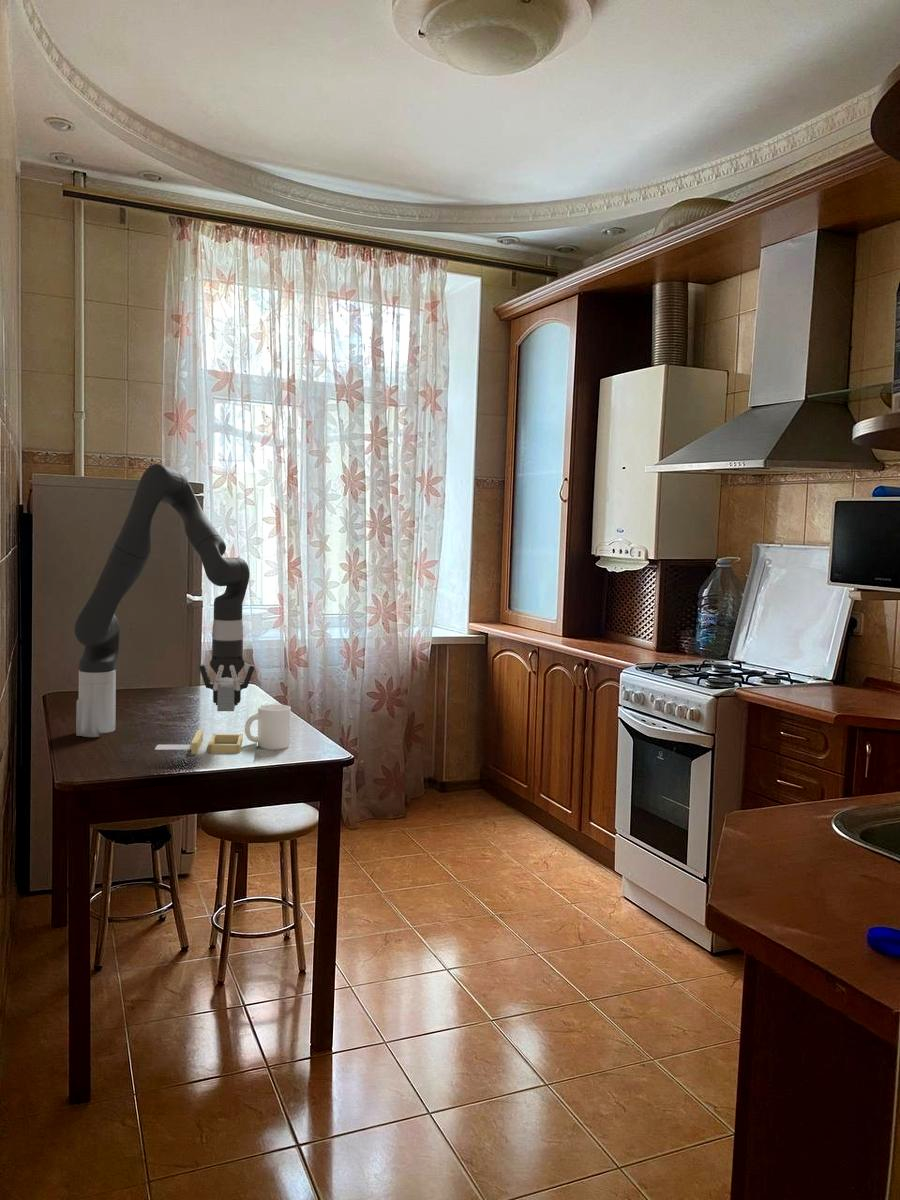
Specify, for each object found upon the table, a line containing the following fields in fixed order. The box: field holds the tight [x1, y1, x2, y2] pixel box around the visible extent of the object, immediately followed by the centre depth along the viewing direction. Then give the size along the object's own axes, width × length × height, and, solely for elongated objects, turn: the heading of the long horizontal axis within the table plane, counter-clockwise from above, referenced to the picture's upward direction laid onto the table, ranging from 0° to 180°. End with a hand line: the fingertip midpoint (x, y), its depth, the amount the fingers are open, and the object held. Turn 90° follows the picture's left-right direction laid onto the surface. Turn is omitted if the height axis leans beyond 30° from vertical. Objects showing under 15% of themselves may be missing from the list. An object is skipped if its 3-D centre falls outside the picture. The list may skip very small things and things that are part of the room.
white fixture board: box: [154, 729, 244, 755], centre depth 235 cm, size 22×14×4 cm, turn 99°
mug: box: [244, 703, 291, 751], centre depth 241 cm, size 12×8×10 cm
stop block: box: [216, 681, 237, 712], centre depth 235 cm, size 8×4×6 cm, turn 9°
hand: (226, 704), depth 235 cm, fingers closed on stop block, 4 cm apart
